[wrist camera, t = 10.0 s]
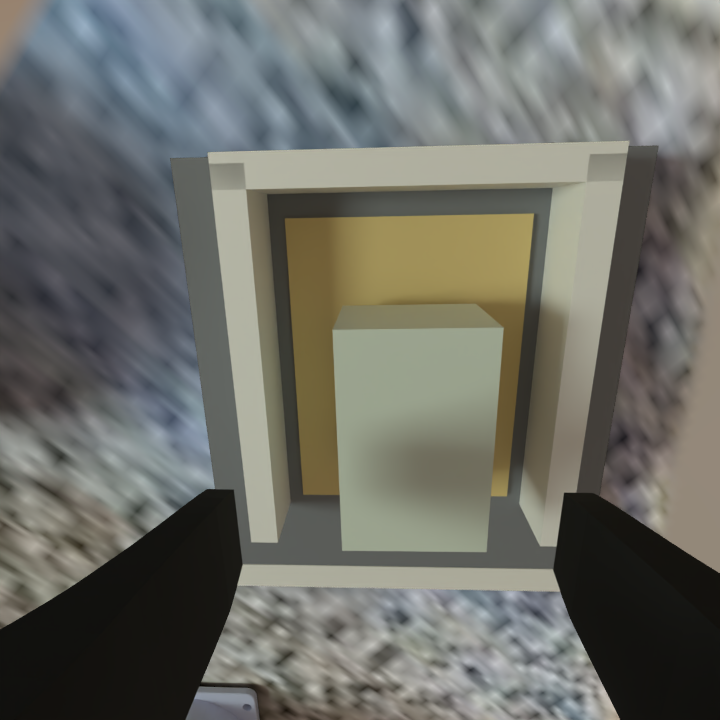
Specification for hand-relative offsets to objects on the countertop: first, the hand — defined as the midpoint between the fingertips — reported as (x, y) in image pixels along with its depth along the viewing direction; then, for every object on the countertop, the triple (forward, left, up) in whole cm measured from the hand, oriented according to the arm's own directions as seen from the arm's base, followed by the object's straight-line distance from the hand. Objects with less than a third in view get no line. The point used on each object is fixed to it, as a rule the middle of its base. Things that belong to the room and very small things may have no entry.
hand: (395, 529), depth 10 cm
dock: (0, -1, -10) cm, 10 cm away
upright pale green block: (0, -1, -8) cm, 8 cm away
